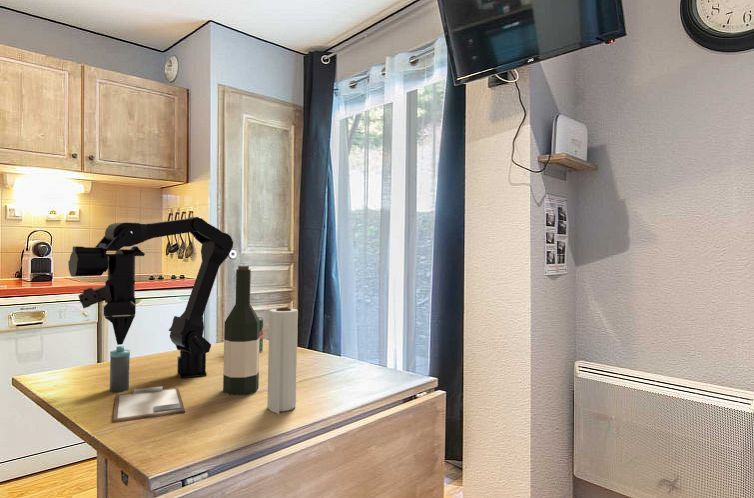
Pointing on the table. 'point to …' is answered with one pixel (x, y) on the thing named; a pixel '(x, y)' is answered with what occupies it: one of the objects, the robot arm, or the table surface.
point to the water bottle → (119, 369)
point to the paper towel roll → (282, 359)
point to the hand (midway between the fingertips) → (120, 340)
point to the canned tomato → (261, 335)
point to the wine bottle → (241, 341)
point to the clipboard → (147, 403)
